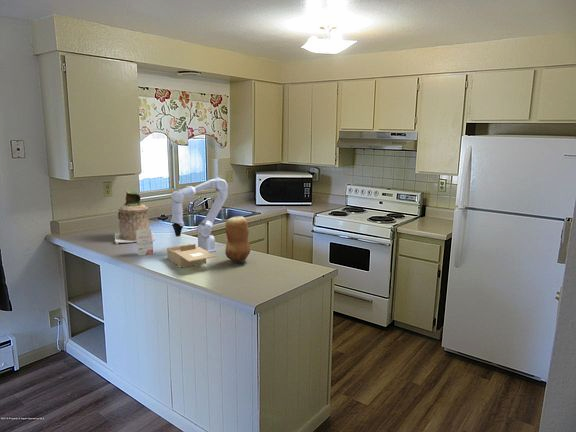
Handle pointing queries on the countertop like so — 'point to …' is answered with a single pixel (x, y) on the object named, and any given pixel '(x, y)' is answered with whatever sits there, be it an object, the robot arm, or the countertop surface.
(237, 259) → the butternut squash
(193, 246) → the mailer lid
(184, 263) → the mailer box
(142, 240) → the ink cartridge box
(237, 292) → the countertop surface
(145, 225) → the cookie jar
